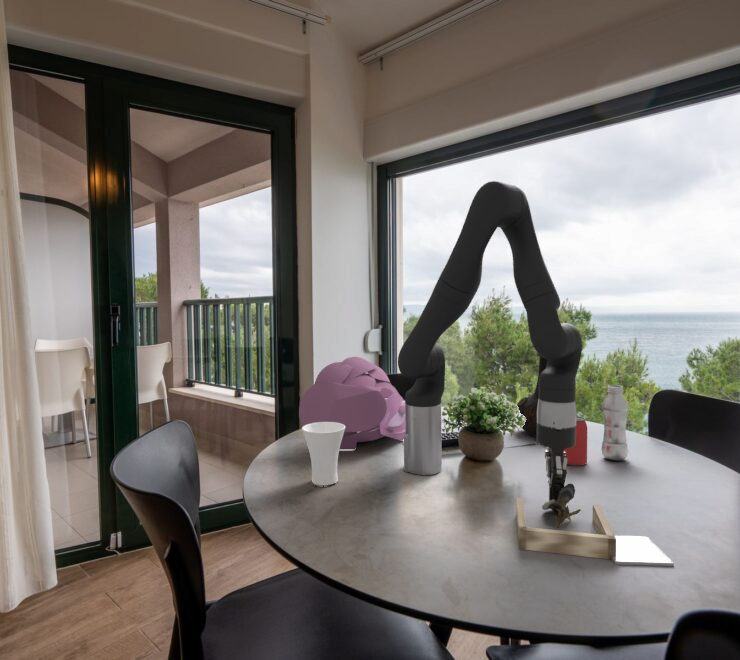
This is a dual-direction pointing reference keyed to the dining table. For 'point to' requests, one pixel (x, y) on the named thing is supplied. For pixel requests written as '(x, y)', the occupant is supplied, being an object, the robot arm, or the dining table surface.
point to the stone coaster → (639, 552)
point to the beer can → (578, 445)
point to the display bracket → (568, 537)
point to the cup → (324, 450)
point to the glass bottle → (532, 404)
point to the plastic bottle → (615, 424)
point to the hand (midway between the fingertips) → (554, 503)
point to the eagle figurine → (562, 504)
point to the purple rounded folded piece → (355, 402)
